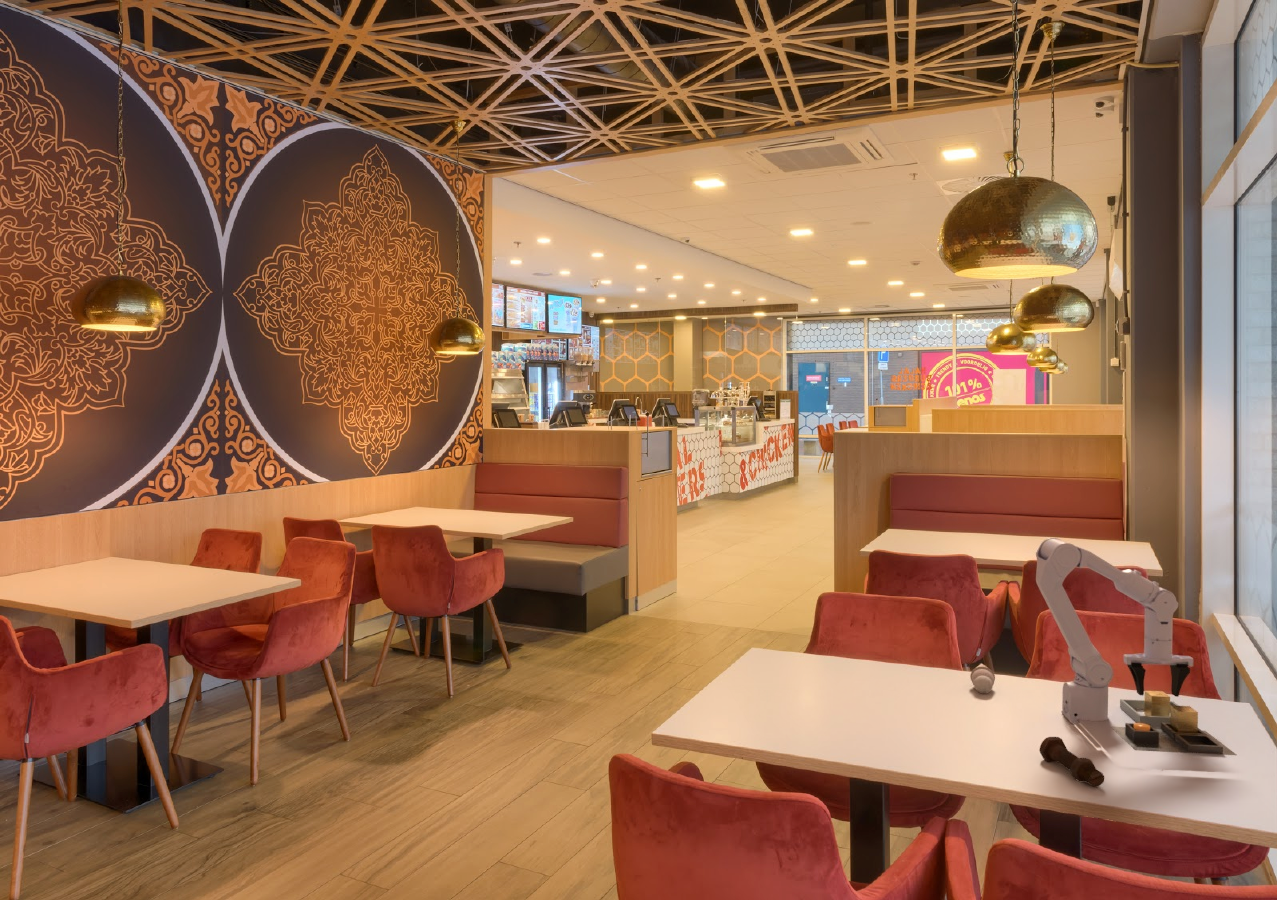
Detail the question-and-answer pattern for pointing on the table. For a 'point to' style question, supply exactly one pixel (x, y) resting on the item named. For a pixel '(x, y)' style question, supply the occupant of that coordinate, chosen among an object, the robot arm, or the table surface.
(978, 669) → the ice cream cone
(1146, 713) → the billet
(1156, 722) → the tote
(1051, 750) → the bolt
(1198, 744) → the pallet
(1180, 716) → the billet
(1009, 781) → the table surface
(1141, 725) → the button
